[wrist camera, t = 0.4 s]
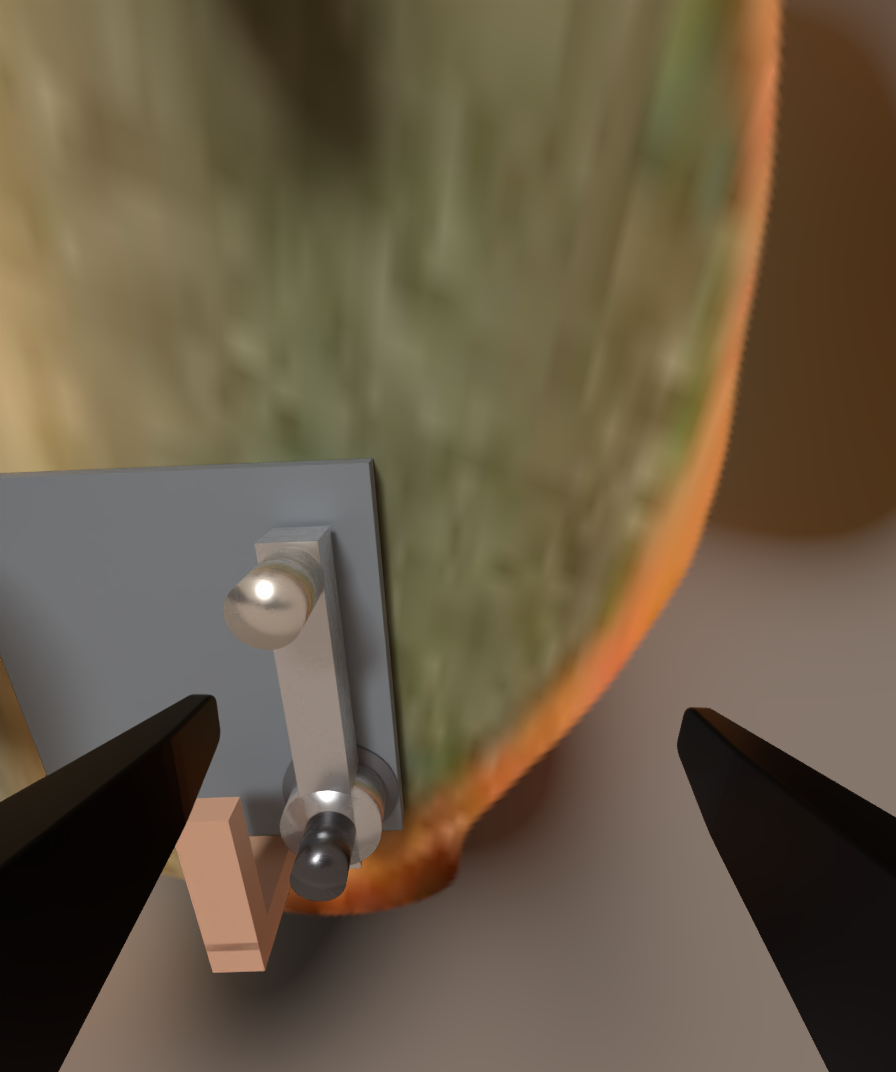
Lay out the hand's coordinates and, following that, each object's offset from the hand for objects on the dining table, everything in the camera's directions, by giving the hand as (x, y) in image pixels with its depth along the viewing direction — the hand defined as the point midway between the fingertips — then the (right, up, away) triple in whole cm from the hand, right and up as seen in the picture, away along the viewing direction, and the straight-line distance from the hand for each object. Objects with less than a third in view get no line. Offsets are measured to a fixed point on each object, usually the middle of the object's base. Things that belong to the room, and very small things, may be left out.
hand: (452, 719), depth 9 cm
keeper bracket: (-10, -11, +17) cm, 23 cm away
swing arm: (-6, -4, +13) cm, 15 cm away
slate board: (-12, -3, +15) cm, 19 cm away
